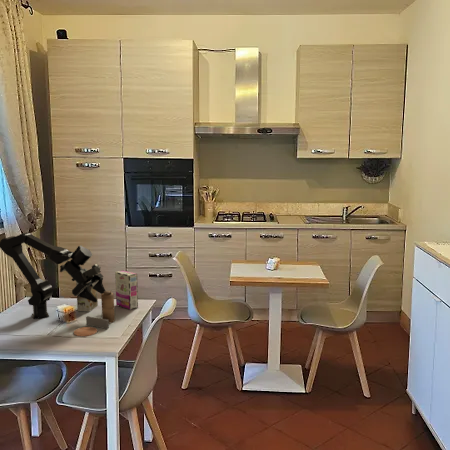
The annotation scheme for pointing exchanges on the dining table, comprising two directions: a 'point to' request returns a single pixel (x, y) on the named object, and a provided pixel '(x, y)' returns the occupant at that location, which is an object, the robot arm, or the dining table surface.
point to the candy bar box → (126, 289)
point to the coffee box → (87, 302)
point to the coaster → (85, 331)
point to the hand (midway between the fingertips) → (101, 298)
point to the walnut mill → (108, 306)
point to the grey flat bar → (97, 322)
